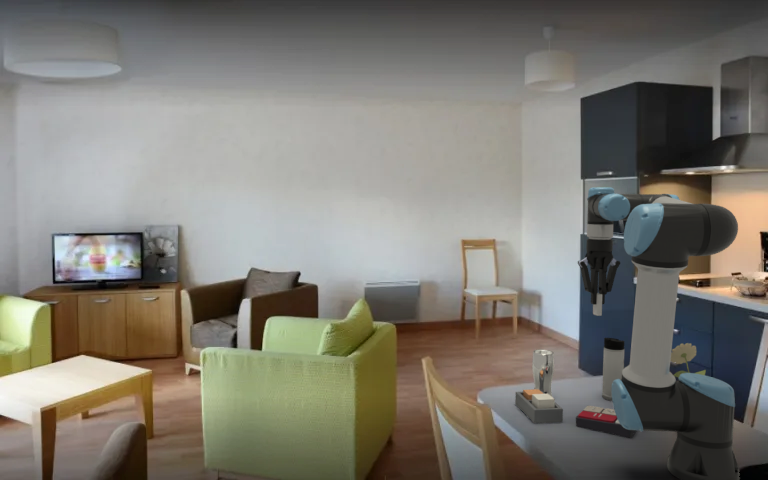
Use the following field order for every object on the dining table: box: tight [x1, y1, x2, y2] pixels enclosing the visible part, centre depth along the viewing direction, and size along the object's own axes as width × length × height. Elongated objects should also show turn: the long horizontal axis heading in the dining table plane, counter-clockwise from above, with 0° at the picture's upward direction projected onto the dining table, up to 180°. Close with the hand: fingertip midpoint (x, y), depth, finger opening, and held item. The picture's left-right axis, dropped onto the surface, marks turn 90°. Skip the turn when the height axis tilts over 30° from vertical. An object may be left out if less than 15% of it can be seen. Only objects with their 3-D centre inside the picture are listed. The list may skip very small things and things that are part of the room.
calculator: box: [575, 405, 638, 439], centre depth 173 cm, size 11×4×15 cm
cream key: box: [532, 394, 556, 409], centre depth 179 cm, size 5×5×4 cm
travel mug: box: [601, 337, 625, 402], centre depth 196 cm, size 6×7×20 cm
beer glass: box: [531, 349, 555, 397], centre depth 197 cm, size 7×7×15 cm
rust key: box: [522, 389, 543, 400], centre depth 187 cm, size 5×5×4 cm
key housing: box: [514, 391, 564, 424], centre depth 183 cm, size 16×9×4 cm, turn 7°
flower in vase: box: [670, 342, 707, 378], centre depth 169 cm, size 13×11×25 cm
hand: (597, 314), depth 185 cm, fingers closed
